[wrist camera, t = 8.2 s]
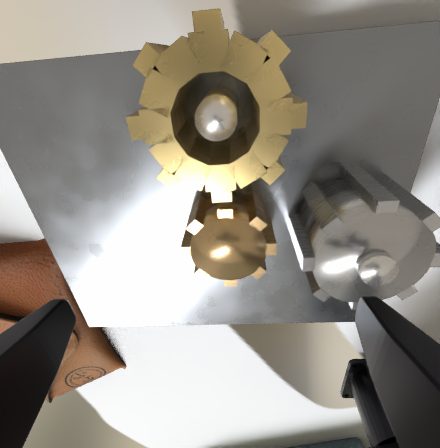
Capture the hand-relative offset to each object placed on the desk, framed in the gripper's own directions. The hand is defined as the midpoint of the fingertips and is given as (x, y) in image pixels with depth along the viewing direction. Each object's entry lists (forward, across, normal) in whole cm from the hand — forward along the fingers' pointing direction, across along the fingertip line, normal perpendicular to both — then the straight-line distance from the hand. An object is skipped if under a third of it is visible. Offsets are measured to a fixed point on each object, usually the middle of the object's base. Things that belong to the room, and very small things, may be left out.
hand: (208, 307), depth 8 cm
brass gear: (+10, 0, -5) cm, 11 cm away
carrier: (+11, +1, +3) cm, 11 cm away
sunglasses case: (+12, +16, +13) cm, 24 cm away
